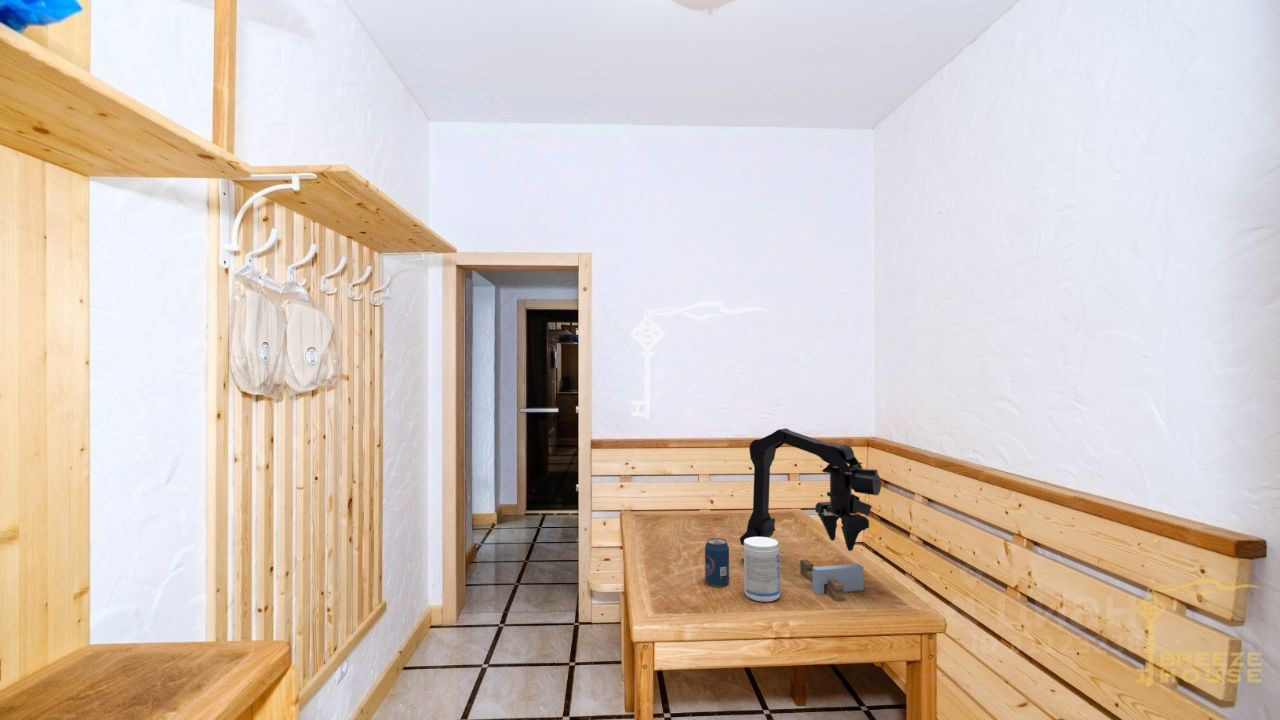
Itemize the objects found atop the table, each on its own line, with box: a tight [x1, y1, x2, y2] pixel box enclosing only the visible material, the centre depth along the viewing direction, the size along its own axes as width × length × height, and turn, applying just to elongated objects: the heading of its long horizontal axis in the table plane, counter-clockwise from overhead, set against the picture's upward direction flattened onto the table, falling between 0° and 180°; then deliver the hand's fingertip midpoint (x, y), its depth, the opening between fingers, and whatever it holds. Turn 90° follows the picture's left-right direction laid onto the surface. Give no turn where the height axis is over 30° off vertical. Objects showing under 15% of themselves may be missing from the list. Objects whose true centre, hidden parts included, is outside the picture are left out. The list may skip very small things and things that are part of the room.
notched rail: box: [799, 559, 845, 601], centre depth 154 cm, size 20×2×4 cm, turn 11°
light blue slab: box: [812, 563, 865, 595], centre depth 151 cm, size 14×2×6 cm, turn 100°
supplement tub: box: [742, 537, 781, 603], centre depth 148 cm, size 10×10×15 cm
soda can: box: [704, 537, 730, 588], centre depth 157 cm, size 7×7×12 cm
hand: (841, 545), depth 153 cm, fingers open, 9 cm apart
